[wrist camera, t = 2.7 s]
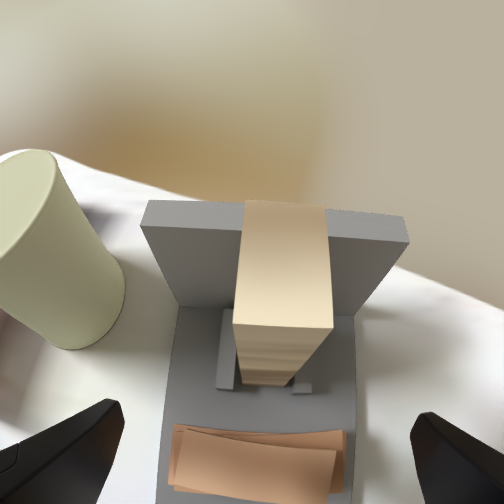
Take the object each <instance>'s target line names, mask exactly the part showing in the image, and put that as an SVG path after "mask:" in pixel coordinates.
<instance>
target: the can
mask: <svg viewBox="0 0 504 504" xmlns="http://www.w3.org/2000/svg"><path fill="white" fill-rule="evenodd" d="M124 297H125V279H124V275H123V272H122V269H121V267H120V265H119V263H118V262H117V260H116V259H115V258H114V257H113V256H112V255H111V254H110V253H109V252H108V251H107V249H106V248H105V246H104V245H103V243H102V242H101V240H100V239H99V237H98V236H97V234H96V233H95V231H94V229H93V228H92V226H91V225H90V223H89V221H88V220H87V218H86V216H85V215H84V213H83V211H82V210H81V208H80V206H79V205H78V203H77V201H76V199H75V198H74V196H73V194H72V192H71V190H70V189H69V187H68V185H67V183H66V181H65V179H64V177H63V175H62V173H61V171H60V169H59V167H58V163H57V160H56V159H55V157H54V156H53V155H52V154H51V153H50V152H48V151H45V150H39V149H37V150H28V151H24V152H21V153H19V154H16V155H14V156H12V157H10V158H8V159H7V160H5V161H3V162H2V163H0V308H1V309H3V310H4V311H5V312H7V313H8V314H10V315H11V316H13V317H14V318H16V319H17V320H19V321H20V322H22V323H23V324H25V325H26V326H28V327H29V328H31V329H32V330H34V331H35V332H37V333H38V334H40V335H41V336H43V337H44V338H45V339H46V340H47V341H48V342H50V343H51V344H53V345H55V346H57V347H59V348H63V349H69V350H72V349H80V348H84V347H87V346H89V345H91V344H93V343H95V342H96V341H98V340H99V339H100V338H102V337H103V336H104V335H105V334H106V333H107V332H108V331H109V330H110V328H111V327H112V326H113V324H114V323H115V321H116V319H117V318H118V316H119V314H120V311H121V309H122V305H123V302H124Z"/></svg>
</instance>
